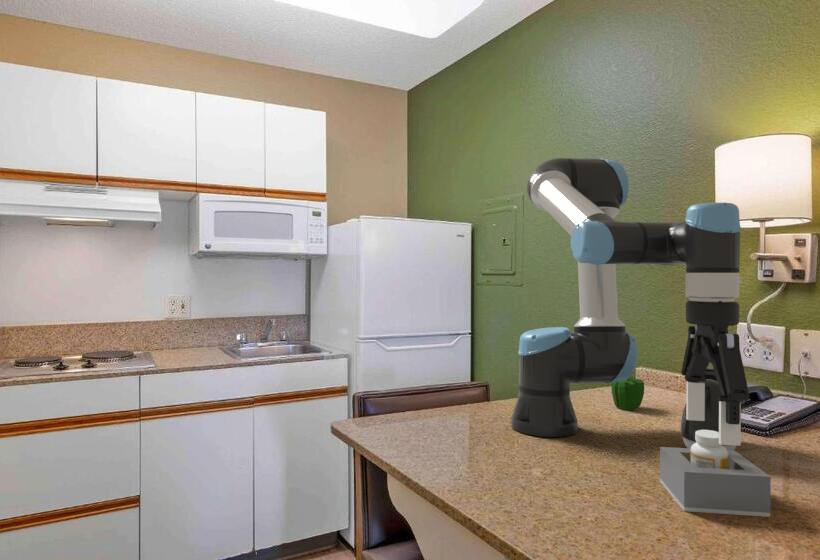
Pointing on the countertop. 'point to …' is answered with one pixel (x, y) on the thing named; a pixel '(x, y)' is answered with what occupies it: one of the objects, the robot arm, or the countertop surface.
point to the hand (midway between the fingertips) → (711, 431)
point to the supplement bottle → (708, 451)
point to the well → (715, 484)
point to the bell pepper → (628, 393)
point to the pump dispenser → (710, 416)
